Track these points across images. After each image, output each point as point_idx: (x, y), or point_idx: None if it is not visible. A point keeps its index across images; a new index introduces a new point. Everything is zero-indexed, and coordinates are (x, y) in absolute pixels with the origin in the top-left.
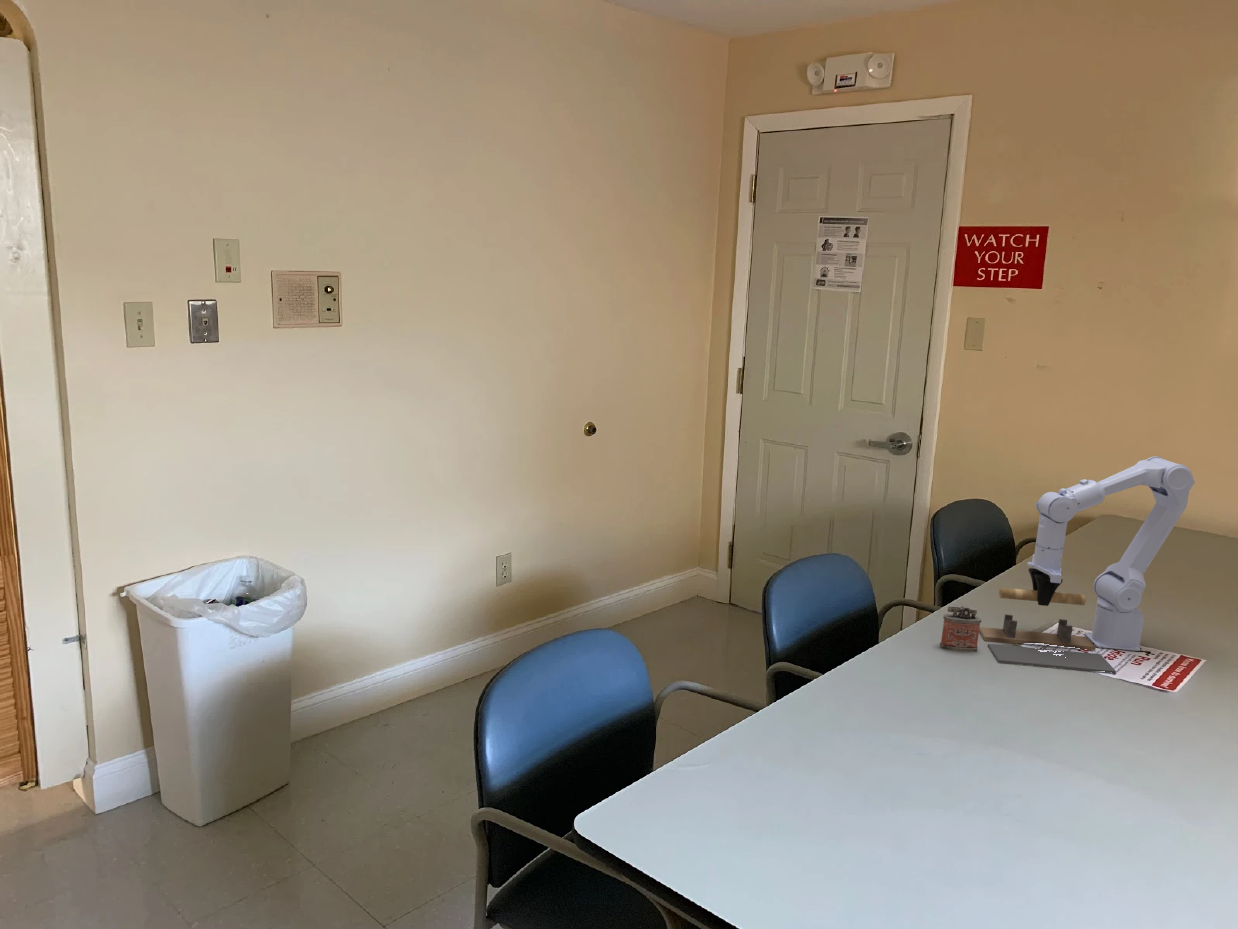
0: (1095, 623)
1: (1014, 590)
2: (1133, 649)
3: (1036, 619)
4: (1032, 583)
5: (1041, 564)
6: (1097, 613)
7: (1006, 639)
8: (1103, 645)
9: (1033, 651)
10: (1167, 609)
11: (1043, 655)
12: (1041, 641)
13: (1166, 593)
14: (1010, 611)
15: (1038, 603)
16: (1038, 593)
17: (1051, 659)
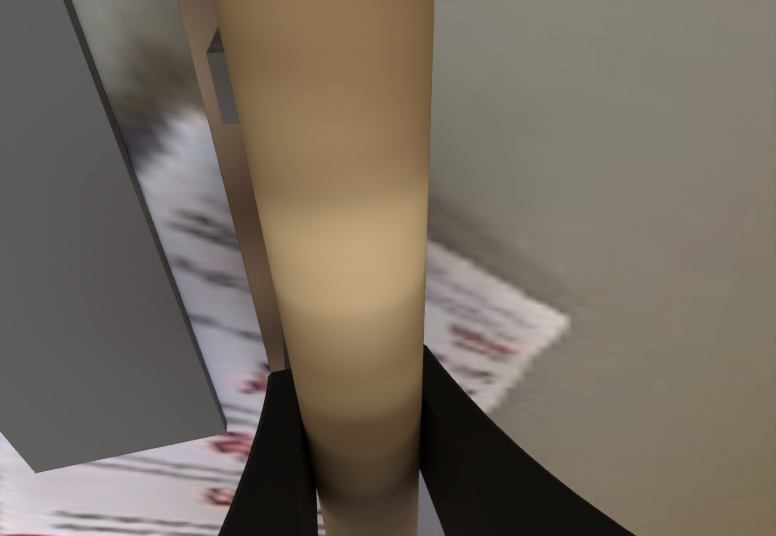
0: None
1: (302, 204)
2: None
3: (603, 249)
4: (521, 459)
5: None
6: (419, 528)
7: (182, 11)
8: None
9: (52, 173)
10: (651, 520)
11: (16, 223)
12: (245, 240)
13: (737, 514)
14: (707, 147)
15: (277, 379)
16: (252, 479)
17: None
